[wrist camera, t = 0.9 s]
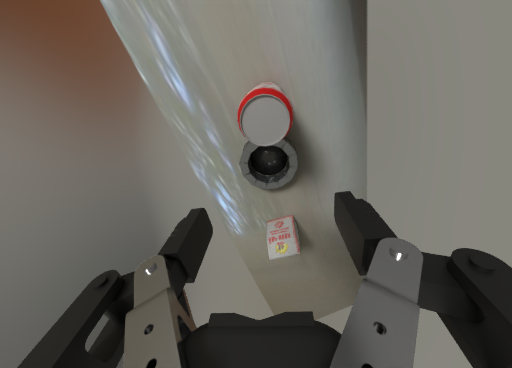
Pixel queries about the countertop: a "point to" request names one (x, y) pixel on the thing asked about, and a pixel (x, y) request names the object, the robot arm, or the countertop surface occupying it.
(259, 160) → the collar
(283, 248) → the white printed box
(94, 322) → the robot arm
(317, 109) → the countertop surface
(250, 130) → the beer can
